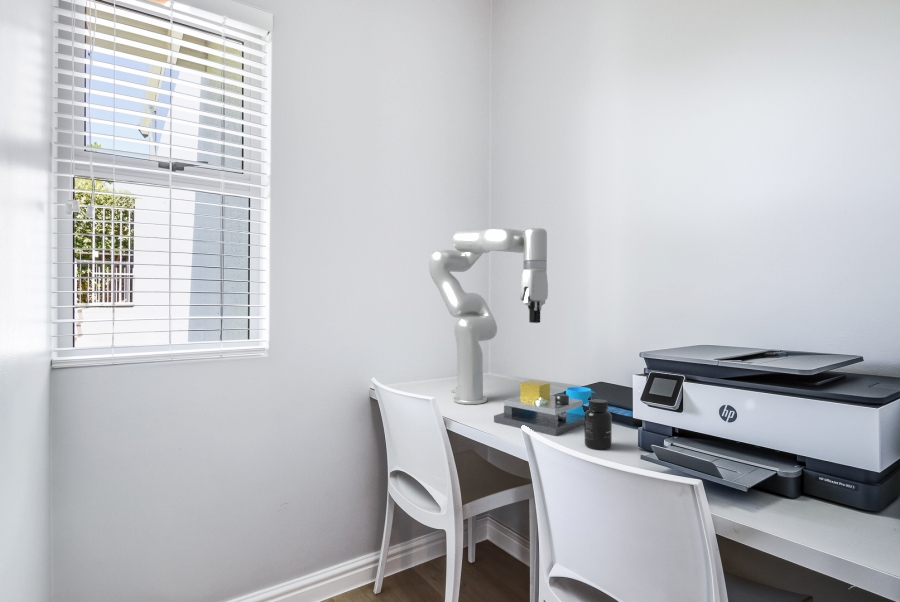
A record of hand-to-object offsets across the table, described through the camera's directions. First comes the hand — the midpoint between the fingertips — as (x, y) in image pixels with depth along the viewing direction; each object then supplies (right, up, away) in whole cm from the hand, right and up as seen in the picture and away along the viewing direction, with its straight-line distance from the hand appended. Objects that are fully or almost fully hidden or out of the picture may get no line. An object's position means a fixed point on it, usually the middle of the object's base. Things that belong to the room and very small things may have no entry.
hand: (534, 322), depth 158 cm
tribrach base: (+1, -31, -8) cm, 32 cm away
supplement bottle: (+11, -31, -32) cm, 46 cm away
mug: (+17, -31, +4) cm, 35 cm away
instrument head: (+1, -25, -9) cm, 27 cm away
